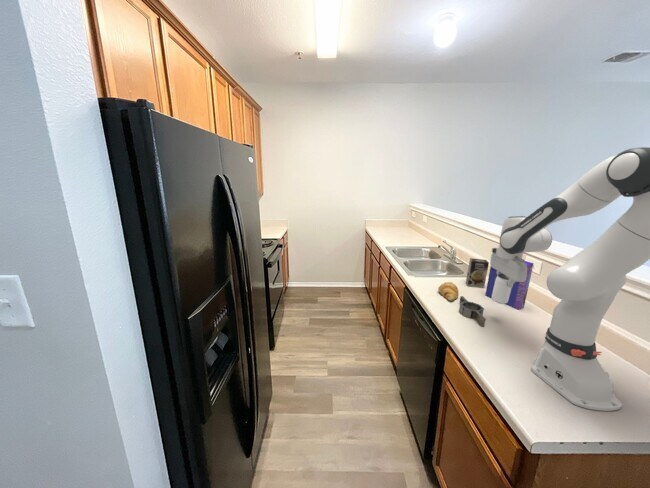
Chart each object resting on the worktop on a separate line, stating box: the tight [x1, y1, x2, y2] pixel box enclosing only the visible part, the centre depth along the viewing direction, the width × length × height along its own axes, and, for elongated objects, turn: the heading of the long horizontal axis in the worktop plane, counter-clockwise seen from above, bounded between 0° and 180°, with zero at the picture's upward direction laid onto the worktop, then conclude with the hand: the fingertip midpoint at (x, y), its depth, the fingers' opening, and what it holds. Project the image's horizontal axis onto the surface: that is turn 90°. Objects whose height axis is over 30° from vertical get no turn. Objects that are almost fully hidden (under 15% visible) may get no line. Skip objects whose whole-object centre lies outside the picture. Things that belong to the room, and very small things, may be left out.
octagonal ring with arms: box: [458, 306, 486, 328], centre depth 126 cm, size 16×10×4 cm, turn 177°
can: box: [490, 274, 511, 305], centre depth 120 cm, size 6×6×12 cm
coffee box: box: [465, 257, 490, 289], centre depth 162 cm, size 9×6×16 cm
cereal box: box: [484, 260, 534, 311], centre depth 140 cm, size 17×5×24 cm, turn 24°
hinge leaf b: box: [459, 295, 485, 315], centre depth 132 cm, size 16×10×4 cm, turn 177°
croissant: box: [437, 281, 459, 302], centre depth 150 cm, size 21×10×8 cm, turn 165°
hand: (504, 283), depth 119 cm, fingers closed on can, 6 cm apart
